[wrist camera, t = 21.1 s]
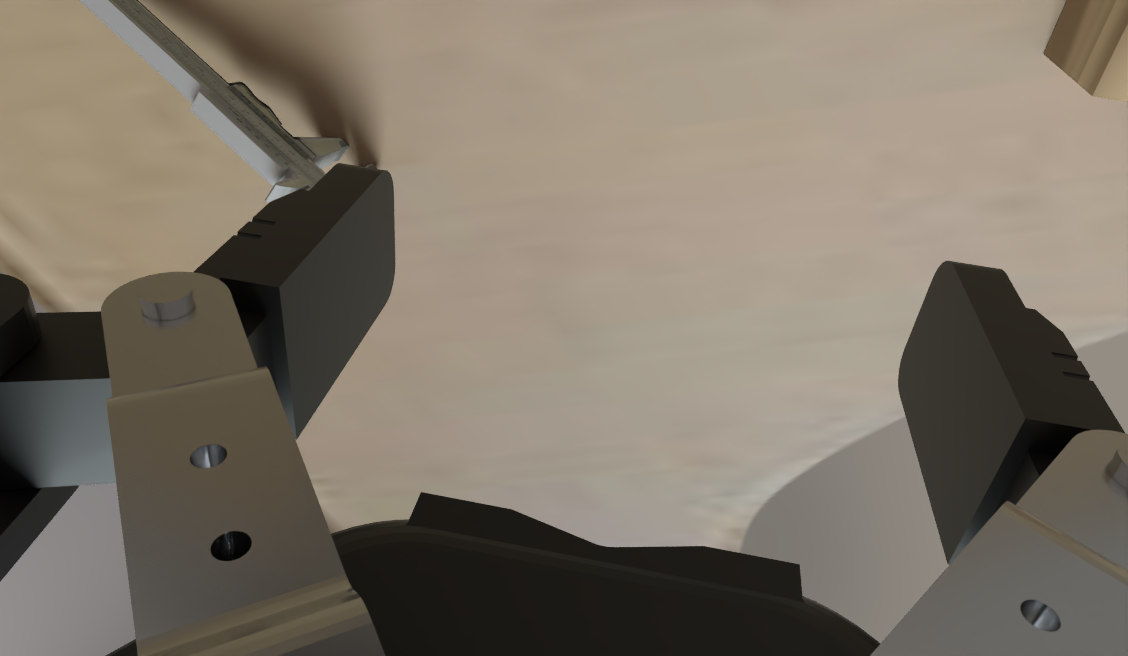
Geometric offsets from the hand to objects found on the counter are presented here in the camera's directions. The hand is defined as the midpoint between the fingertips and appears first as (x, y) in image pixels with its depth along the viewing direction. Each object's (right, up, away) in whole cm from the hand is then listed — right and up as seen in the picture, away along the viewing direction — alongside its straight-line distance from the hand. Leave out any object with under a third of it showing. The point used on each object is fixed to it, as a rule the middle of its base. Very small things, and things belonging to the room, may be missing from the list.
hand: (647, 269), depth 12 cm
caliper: (-18, +12, +24) cm, 32 cm away
